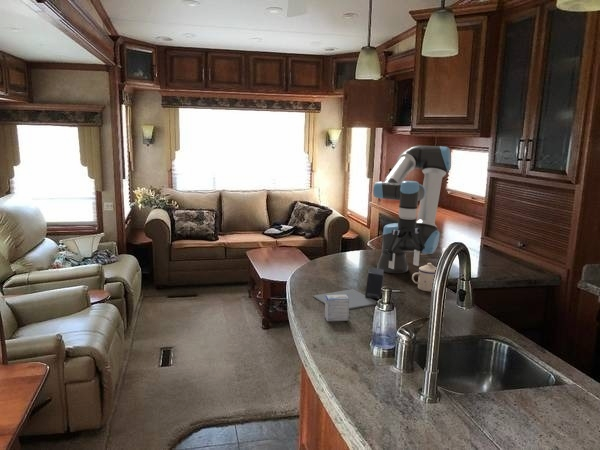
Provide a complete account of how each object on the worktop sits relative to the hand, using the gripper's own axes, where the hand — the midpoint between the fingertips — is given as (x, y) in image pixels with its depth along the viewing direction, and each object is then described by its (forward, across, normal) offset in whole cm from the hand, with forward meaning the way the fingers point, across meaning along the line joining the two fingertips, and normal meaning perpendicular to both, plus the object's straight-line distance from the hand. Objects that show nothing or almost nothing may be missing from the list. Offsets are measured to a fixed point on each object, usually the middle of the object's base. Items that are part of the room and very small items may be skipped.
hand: (403, 266), depth 204 cm
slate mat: (+11, +29, 0) cm, 31 cm away
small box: (+11, +15, 0) cm, 19 cm away
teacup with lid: (+11, -12, +2) cm, 16 cm away
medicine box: (+12, +43, +15) cm, 47 cm away
